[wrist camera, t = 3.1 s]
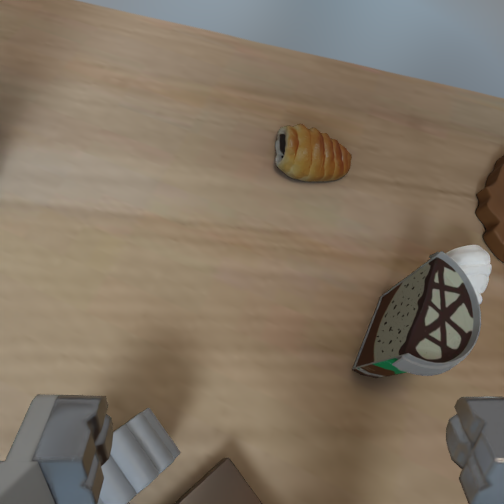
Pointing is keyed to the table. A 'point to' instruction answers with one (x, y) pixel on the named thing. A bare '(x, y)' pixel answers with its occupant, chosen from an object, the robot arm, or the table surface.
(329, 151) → the pastry
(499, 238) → the plant
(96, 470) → the robot arm
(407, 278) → the halved ice cream tub
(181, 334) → the table surface
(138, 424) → the grey knurled ring
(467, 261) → the white cream swirl
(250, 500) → the stand
